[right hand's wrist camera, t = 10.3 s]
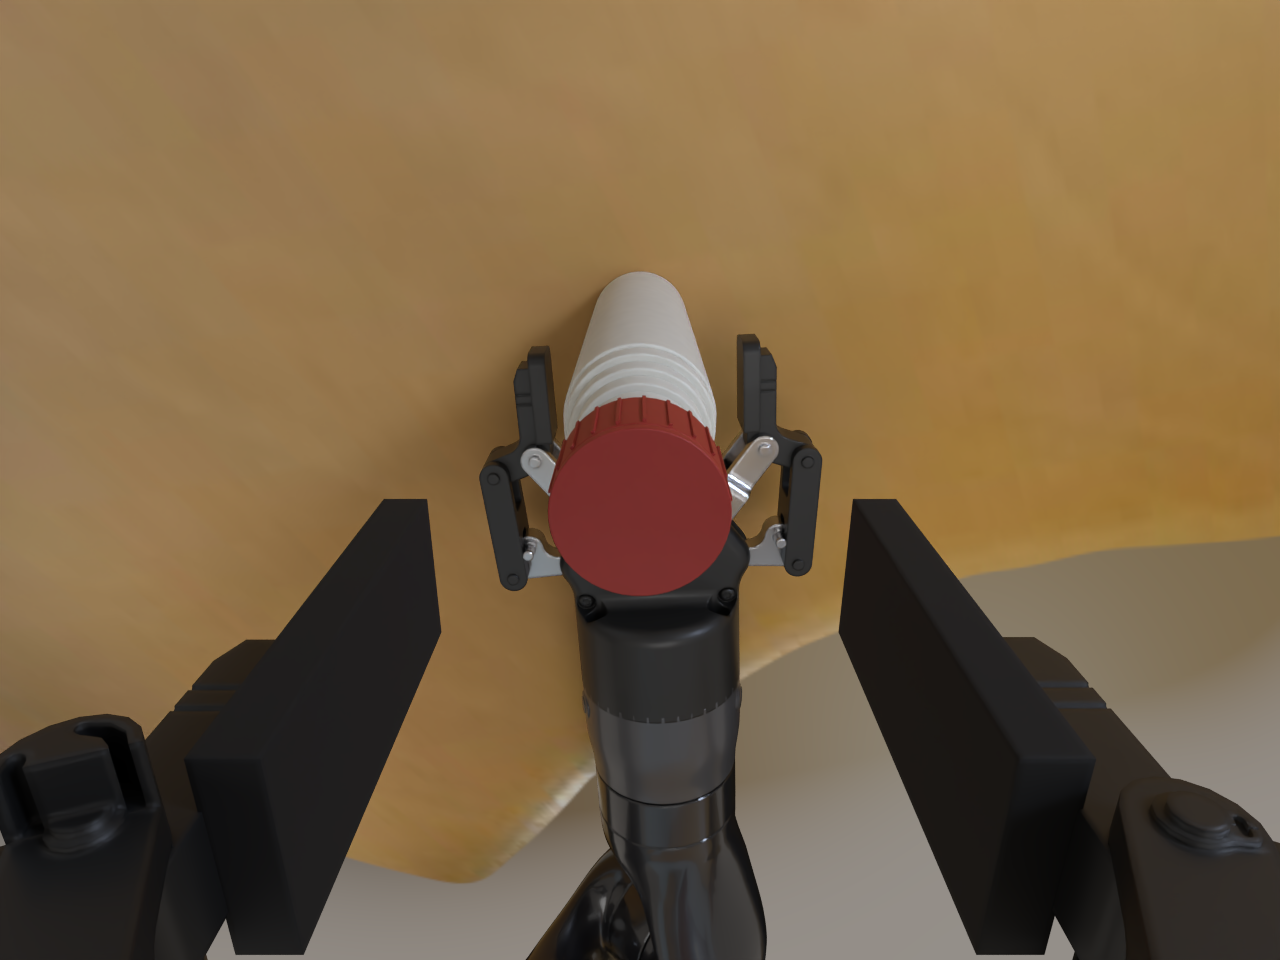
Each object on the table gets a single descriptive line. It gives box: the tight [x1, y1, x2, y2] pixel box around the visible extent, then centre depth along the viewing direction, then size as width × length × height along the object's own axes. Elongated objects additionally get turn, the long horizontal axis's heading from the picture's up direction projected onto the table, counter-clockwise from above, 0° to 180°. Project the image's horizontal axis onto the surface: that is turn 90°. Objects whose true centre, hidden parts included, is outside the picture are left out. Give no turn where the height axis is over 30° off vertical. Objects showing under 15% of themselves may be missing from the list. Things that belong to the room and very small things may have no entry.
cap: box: [548, 395, 733, 596], centre depth 17 cm, size 4×4×2 cm
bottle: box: [563, 272, 716, 440], centre depth 27 cm, size 4×4×22 cm
